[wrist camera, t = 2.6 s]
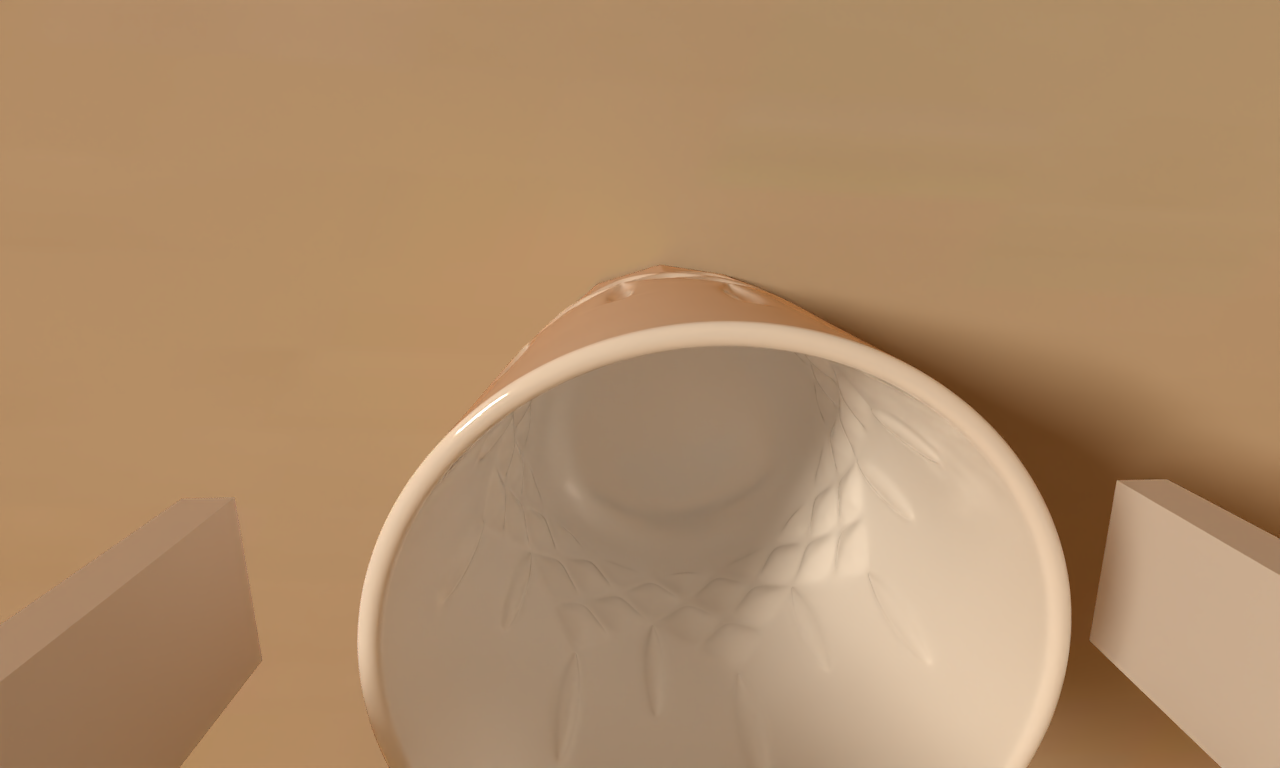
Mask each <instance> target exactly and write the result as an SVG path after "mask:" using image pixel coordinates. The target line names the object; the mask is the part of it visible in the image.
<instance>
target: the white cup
mask: <svg viewBox="0 0 1280 768" xmlns="http://www.w3.org/2000/svg"><path fill="white" fill-rule="evenodd" d="M1070 640H1071V595H1070V585H1069V578H1068V572H1067V567H1066V562H1065V557H1064V553H1063V549H1062V546H1061V542H1060V539H1059V536H1058V533H1057V530H1056V527H1055V525H1054V522H1053V519H1052V517H1051V515H1050V512H1049V510H1048V508H1047V506H1046V503H1045V501H1044V499H1043V497H1042V495H1041V493H1040V491H1039V490H1038V488H1037V486H1036V484H1035V483H1034V481H1033V479H1032V477H1031V476H1030V474H1029V473H1028V471H1027V470H1026V468H1025V466H1024V465H1023V464H1022V462H1021V461H1020V459H1019V458H1018V457H1017V455H1016V454H1015V453H1014V451H1013V450H1012V449H1011V447H1010V446H1009V445H1008V444H1007V442H1006V441H1005V440H1004V439H1003V438H1002V437H1001V436H1000V434H999V433H998V432H997V431H996V430H995V429H994V428H993V427H992V426H991V425H990V424H989V423H988V422H987V421H986V420H985V419H984V418H983V417H982V416H981V415H980V414H979V413H978V412H977V411H975V410H974V409H973V408H972V407H971V406H970V405H968V404H967V403H966V402H965V401H964V400H962V399H961V398H960V397H959V396H957V395H956V394H955V393H953V392H952V391H951V390H949V389H948V388H946V387H945V386H944V385H942V384H941V383H939V382H938V381H936V380H935V379H933V378H932V377H930V376H928V375H927V374H925V373H923V372H922V371H920V370H918V369H916V368H915V367H913V366H911V365H909V364H907V363H905V362H903V361H901V360H900V359H898V358H896V357H894V356H892V355H890V354H888V353H886V352H884V351H882V350H880V349H878V348H876V347H874V346H872V345H870V344H868V343H866V342H865V341H863V340H861V339H859V338H857V337H855V336H853V335H851V334H849V333H847V332H845V331H844V330H842V329H840V328H838V327H836V326H834V325H832V324H830V323H829V322H827V321H825V320H823V319H821V318H819V317H818V316H816V315H814V314H812V313H810V312H808V311H806V310H805V309H803V308H801V307H799V306H797V305H795V304H793V303H791V302H789V301H787V300H785V299H783V298H781V297H779V296H776V295H774V294H771V293H769V292H766V291H764V290H762V289H760V288H758V287H756V286H754V285H751V284H748V283H745V282H742V281H739V280H736V279H733V278H730V277H728V276H727V275H724V274H717V273H711V272H705V271H698V270H692V269H685V268H679V267H672V266H666V265H657V266H654V267H650V268H647V269H644V270H641V271H637V272H634V273H631V274H628V275H624V276H621V277H618V278H615V279H611V280H608V281H605V282H602V283H598V284H596V285H595V286H594V287H593V288H592V289H591V290H590V291H589V292H588V293H587V294H585V295H584V296H583V297H582V298H581V299H580V300H578V301H577V302H575V303H574V304H572V305H570V306H569V307H567V308H566V309H565V310H563V311H562V312H561V313H560V314H558V315H557V316H556V317H555V318H554V319H553V320H552V321H551V322H550V323H549V324H548V325H547V326H545V327H544V328H543V329H542V330H541V331H540V332H539V333H538V334H537V335H536V336H535V337H534V338H533V339H532V340H531V341H529V342H528V343H527V344H526V345H525V346H524V347H523V348H522V349H521V350H520V351H519V352H518V353H517V354H516V355H515V357H514V358H513V359H512V360H511V361H510V362H509V363H508V364H507V366H506V367H505V368H504V369H503V370H502V372H501V373H500V374H499V375H498V376H497V377H496V378H495V380H494V381H493V382H492V383H491V384H490V385H489V387H488V388H487V389H486V390H485V391H484V392H483V394H482V395H481V396H480V397H479V398H478V399H477V401H476V402H475V403H474V404H473V405H472V406H471V407H470V409H469V410H468V411H467V412H466V413H465V414H464V415H463V416H462V418H461V419H460V420H459V421H458V422H457V423H456V424H455V425H454V427H453V428H452V429H451V430H450V431H449V432H448V433H447V434H446V435H445V437H444V438H443V439H442V440H441V441H440V442H439V443H438V444H437V445H436V446H435V448H434V449H433V450H432V451H431V452H430V453H429V455H428V456H427V457H426V458H425V459H424V461H423V462H422V463H421V465H420V466H419V467H418V468H417V470H416V471H415V473H414V474H413V475H412V477H411V478H410V480H409V481H408V483H407V484H406V486H405V487H404V489H403V490H402V492H401V493H400V495H399V497H398V498H397V500H396V502H395V504H394V505H393V507H392V509H391V511H390V513H389V515H388V517H387V519H386V521H385V523H384V525H383V527H382V530H381V532H380V534H379V537H378V539H377V542H376V544H375V547H374V550H373V553H372V556H371V559H370V562H369V565H368V569H367V573H366V577H365V581H364V585H363V590H362V596H361V602H360V609H359V619H358V642H357V645H358V665H359V674H360V682H361V688H362V693H363V698H364V702H365V706H366V710H367V714H368V717H369V721H370V724H371V727H372V730H373V733H374V735H375V738H376V740H377V743H378V745H379V748H380V750H381V752H382V754H383V756H384V759H385V761H386V763H387V765H388V766H389V768H1027V767H1028V765H1029V764H1030V762H1031V760H1032V759H1033V757H1034V755H1035V753H1036V752H1037V750H1038V748H1039V746H1040V744H1041V742H1042V740H1043V738H1044V736H1045V734H1046V731H1047V729H1048V727H1049V725H1050V722H1051V720H1052V717H1053V715H1054V712H1055V709H1056V706H1057V703H1058V700H1059V697H1060V693H1061V690H1062V686H1063V682H1064V678H1065V673H1066V668H1067V663H1068V657H1069V649H1070Z"/></svg>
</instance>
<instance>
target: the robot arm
mask: <svg viewBox="0 0 1280 768" xmlns="http://www.w3.org/2000/svg"><path fill="white" fill-rule="evenodd" d="M1089 641H1090V642H1091V643H1092V644H1093V645H1095V646H1096V647H1097V648H1098V649H1099V650H1100V651H1101V652H1102V653H1103V654H1104V655H1105V656H1106V657H1107V658H1108V659H1109V660H1110V661H1111V662H1112V663H1113V664H1114V665H1115V666H1116V667H1117V668H1118V669H1119V670H1121V671H1122V672H1123V673H1124V674H1125V675H1126V676H1127V677H1128V678H1129V679H1130V680H1131V681H1132V682H1133V683H1134V684H1135V685H1136V686H1137V687H1138V688H1139V689H1140V690H1141V691H1142V692H1143V693H1144V694H1145V695H1147V696H1148V697H1149V698H1150V699H1151V700H1152V701H1153V702H1154V703H1155V704H1156V705H1157V706H1158V707H1159V708H1160V709H1161V710H1162V711H1163V712H1164V713H1165V714H1166V715H1167V716H1168V717H1169V718H1170V719H1171V720H1173V721H1174V722H1175V723H1176V724H1177V725H1178V726H1179V727H1180V728H1181V729H1182V730H1183V731H1184V732H1185V733H1186V734H1187V735H1188V736H1189V737H1190V738H1191V739H1192V740H1193V741H1194V742H1195V743H1196V744H1197V745H1199V746H1200V747H1201V748H1202V749H1203V750H1204V751H1205V752H1206V753H1207V754H1208V755H1209V756H1210V757H1211V758H1212V759H1213V760H1214V761H1215V762H1216V763H1217V764H1218V765H1219V766H1220V767H1221V768H1280V539H1279V538H1277V537H1276V536H1274V535H1272V534H1270V533H1268V532H1266V531H1264V530H1262V529H1260V528H1258V527H1257V526H1255V525H1253V524H1251V523H1249V522H1247V521H1245V520H1243V519H1241V518H1240V517H1238V516H1236V515H1234V514H1232V513H1230V512H1228V511H1226V510H1224V509H1222V508H1221V507H1219V506H1217V505H1215V504H1213V503H1211V502H1209V501H1207V500H1205V499H1204V498H1202V497H1200V496H1198V495H1196V494H1194V493H1192V492H1190V491H1188V490H1186V489H1185V488H1183V487H1181V486H1179V485H1177V484H1175V483H1173V482H1171V481H1169V480H1168V479H1154V480H1117V482H1116V488H1115V494H1114V500H1113V505H1112V511H1111V517H1110V523H1109V529H1108V535H1107V540H1106V546H1105V552H1104V558H1103V564H1102V570H1101V575H1100V581H1099V587H1098V593H1097V599H1096V604H1095V610H1094V616H1093V622H1092V628H1091V634H1090V639H1089ZM261 661H262V656H261V650H260V644H259V638H258V632H257V626H256V621H255V615H254V609H253V603H252V597H251V591H250V585H249V579H248V573H247V567H246V562H245V556H244V550H243V544H242V538H241V532H240V526H239V520H238V514H237V508H236V503H235V498H186V499H181V500H179V501H178V502H176V503H175V504H173V505H172V506H170V507H169V508H168V509H166V510H165V511H163V512H162V513H160V514H159V515H158V516H156V517H155V518H153V519H152V520H150V521H149V522H147V523H146V524H145V525H143V526H142V527H140V528H139V529H137V530H136V531H134V532H133V533H132V534H130V535H129V536H127V537H126V538H124V539H123V540H122V541H120V542H119V543H117V544H116V545H114V546H113V547H111V548H110V549H109V550H107V551H106V552H104V553H103V554H101V555H100V556H98V557H97V558H96V559H94V560H93V561H91V562H90V563H88V564H87V565H86V566H84V567H83V568H81V569H80V570H78V571H77V572H75V573H74V574H73V575H71V576H70V577H68V578H67V579H65V580H64V581H63V582H61V583H60V584H58V585H57V586H55V587H54V588H52V589H51V590H50V591H48V592H47V593H45V594H44V595H42V596H41V597H39V598H38V599H37V600H35V601H34V602H32V603H31V604H29V605H28V606H27V607H25V608H24V609H22V610H21V611H19V612H18V613H16V614H15V615H14V616H12V617H11V618H9V619H8V620H6V621H5V622H4V623H2V624H1V625H0V768H180V766H181V765H182V764H183V762H184V761H185V760H186V759H187V757H188V756H189V755H190V753H191V752H192V751H193V750H194V748H195V747H196V746H197V744H198V743H199V742H200V740H201V739H202V738H203V737H204V735H205V734H206V733H207V731H208V730H209V729H210V727H211V726H212V725H213V724H214V722H215V721H216V720H217V718H218V717H219V716H220V714H221V713H222V712H223V711H224V709H225V708H226V707H227V705H228V704H229V703H230V701H231V700H232V699H233V698H234V696H235V695H236V694H237V692H238V691H239V690H240V689H241V687H242V686H243V685H244V683H245V682H246V681H247V679H248V678H249V677H250V676H251V674H252V673H253V672H254V670H255V669H256V668H257V666H258V665H259V664H260V663H261Z"/></svg>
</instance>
